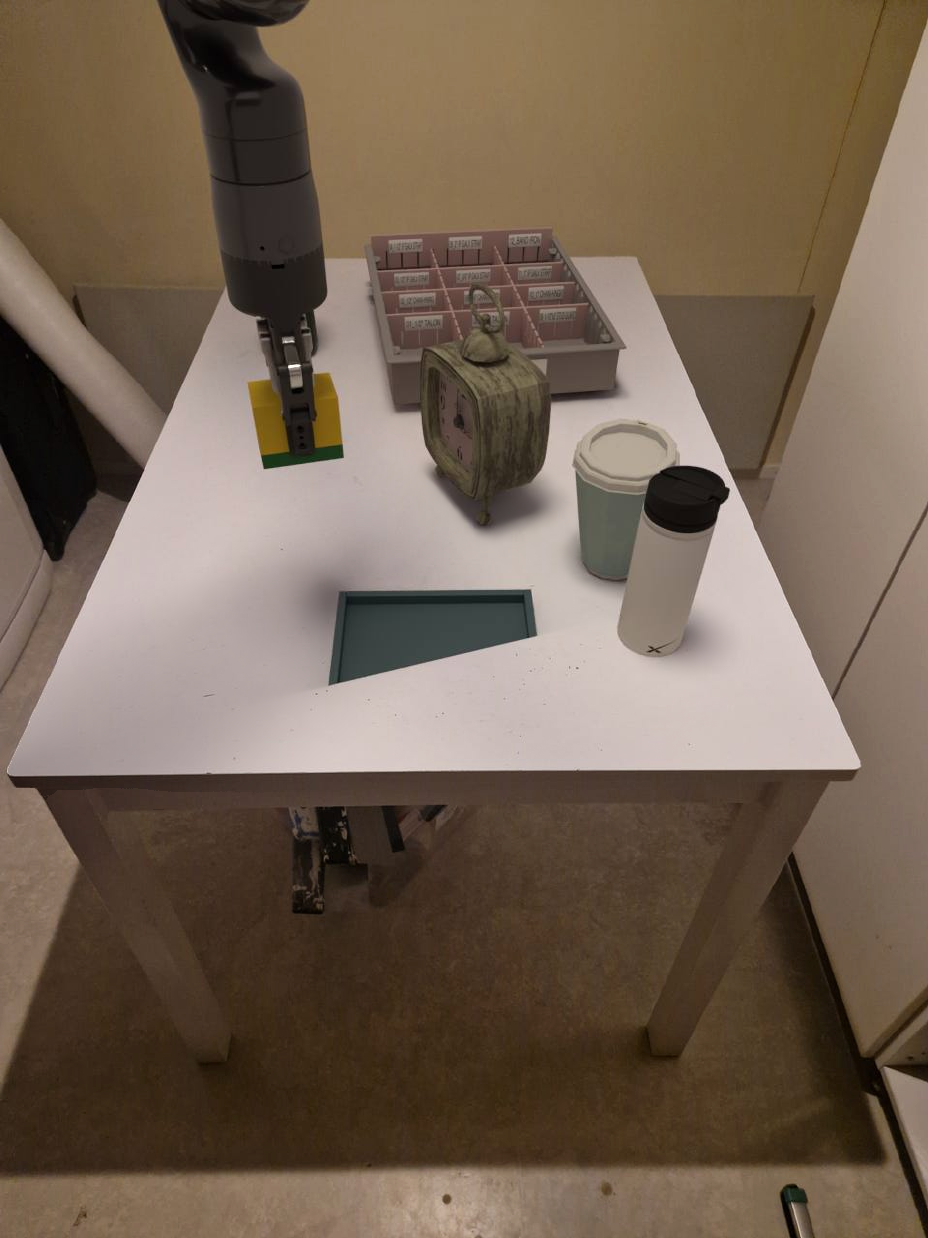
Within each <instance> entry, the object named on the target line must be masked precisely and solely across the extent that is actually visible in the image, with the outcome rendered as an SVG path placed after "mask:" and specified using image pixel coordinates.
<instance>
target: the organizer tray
mask: <svg viewBox="0 0 928 1238" xmlns="http://www.w3.org/2000/svg"><path fill="white" fill-rule="evenodd" d="M553 229H554V228H553V227H552V226H547V227H546V226H543V227H523V228H522V227H519V228H499V229H497V228H496V229H478V230H477V229H473V230H453V231H432V232H431V231H429V232H409V233H408V232H407V233H388V234H387V233H386V234H385V233H384V234H371V235H370V243H367V244H364V246H363V249H364V253H365V259H366V265H367V269H368V275H369V281H370V287H371V292H372V298H373V303H374V308H375V314H376V318H377V324H378V329H379V330H378V331H379V334H380V339H381V345H382V350H383V355H384V362H385V366H386V372H387V377H388V382H389V387H390V392H391V397H392V403H393V405H407V404H408V405H409V404H421V402H420V369H421V357H422V352H423V348H426V347H430V346H435V345H439V344H443V343H448V342H452V341H457V340H461V339H464V338H465V337H466V336H467V335H468V334H469V333H470V332H471V331H472V330H473V329H476V328H480V324H479V323H478V322H477V321H476V319H475V317H474V316H473V314H472V311H471V308H470V305H469V297H468V296H469V290H470V288H471V286H472V285H473V284H475V283H482V284H485V285H486V286H488V287H489V288H490V289H492V290H493V292H494V293H495V294H496V295H497V296H498V298H499V300H500V302H501V304H502V307H503V310H504V317H505V324H504V327H503V330H502V331H501V332H500V333H502V334H503V336H504V338H505V340H506V342H508V343H509V344H511V345H512V346H514V347H515V348H516V349H518V350H519V351H521V352H522V353H523V354H525V355H526V356H527V357H528V358H529V359H530V360H531V361H532V362H533V363H534V364H535V365H536V366H537V367H539V368H540V369H541V370H542V372H543V373H544V374H545V376H546V377H547V379H548V381H549V382H550V390H551V395H553V394H566V393H567V394H568V393H580V392H595V391H609V390H614V389H615V383H616V378H617V377H616V376H617V371H618V370H617V369H618V362H619V357H620V351H621V350H626V349H627V345H626V344H625V342H624V341H623V339H622V338H621V336H620V334H619V333H618V331H617V330H616V328H615V327H614V325H613V323H612V322H611V320H610V318H609V317H608V316H607V315H608V314H607V313H606V312H605V311H604V309H603V307H602V306H601V305H600V303H599V302H598V299H597V298H596V297H595V295H594V293H593V292H592V290H591V288H590V286H589V285H588V284H587V283H586V281H585V279H584V278H583V276H582V274H581V273H580V271H579V270H578V268H577V267H576V265H575V264H574V262H573V261H572V259H571V257H570V256H569V254H568V252H567V251H566V249H565V248H564V246H563V245H562V243H561V241H560V240H559V238H558V237H557V235H553ZM473 303H474V305H475V307H476V309H477V311H478V312H479V314H480V315H481V316H482V315H483V314H489V315H490V316H491V325H492V326H494V327H499V325H500V317H499V313H498V311H497V308H496V306H495V304H494V302H493V301H492V299H491V298H490V297H489V296H488V295H487V294H485V293H484V292H483V291H481V290H479V289H477V290H475V291H474V293H473Z"/></svg>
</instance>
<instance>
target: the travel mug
mask: <svg viewBox="0 0 928 1238" xmlns="http://www.w3.org/2000/svg"><path fill="white" fill-rule="evenodd" d="M730 491H731V489H730V487H727V486H726V483H725V481H724V479H723V478H722V476H720V475H719V474H717V473H716V472H715V471H712V470H710V469H708V468H704V467H701V466H697V465H696V466H695V465H680V466H672V467H668V468H665V469H663V470H661V471H660V473H658V474H655V475H654V476H653V477H652V478H651V479H650V480H649V484H648V487H647V491H646V497H645V500H644V503H643V507H642V512H641V516H640V521H639V526H638V530H637V535H636V540H635V545H634V550H633V554H632V559H631V564H630V569H629V574H628V578H626V583H625V588H624V592H623V598H622V603H621V608H620V611H619V616H618V622H617V626H616V631H617V636H618V639H619V640H620V642H621V643H622V644H623V646H625V647H626V648H627V649H628V650H630V651H632V652H633V653H635V654H638V655H641V656H645V657H652V658H660V657H666V656H668V655H671V654H673V653H674V652H676V651H677V650H678V649H679V648H680V646H681V645H682V642H683V639H684V634H685V632H686V628H687V624H688V621H689V618H690V614H691V611H692V608H693V605H694V601H695V597H696V593H697V590H698V587H699V583H700V580H701V576H702V573H703V571H704V566H705V563H706V559H707V556H708V553H709V549H710V545H711V542H712V539H713V535H714V532H715V529H716V525H717V521H718V517H719V511H720V510H721V506H722V505H723V504H724V503H726V502H727V500H728V499H729V496H730V493H731V492H730Z"/></svg>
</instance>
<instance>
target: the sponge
mask: <svg viewBox="0 0 928 1238" xmlns="http://www.w3.org/2000/svg"><path fill="white" fill-rule="evenodd" d="M314 379H315V386H314V387H313V391H314V403H315V410H316V412H317V417H316V421H314V422H312V424H313V432H314V440H315V448H316V452H315V453H314V454H313V455H309V456H302V457H292V456H291V455H290V452H289V447H288V440H287V434H286V427H285V421H283V419H282V416H281V412H280V410H282V408H281V402H280V396H279V394H278V393H276V392H275V391H274V390H273V389H272V386H271V381H270V378H268V379H262V380H254V381H248V382H247V389H248V394H249V400H250V404H251V410H252V411H251V412H252V416H253V421H254V428H255V432H256V439H257V444H258V449H259V453H260V458H261V463H262V468H263V470H269V469H278V468H283V467H291V466H299V465H304V464H311V463H318V462H319V463H320V462H326V461H333V460H341V459H344V458H345V454H344V444H343V434H342V424H341V414H340V403H339V396H338V393H337V390H336V388H335V385H334V382H333V379H332V376H331V373H330V371H329V372H321V373H314Z"/></svg>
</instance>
